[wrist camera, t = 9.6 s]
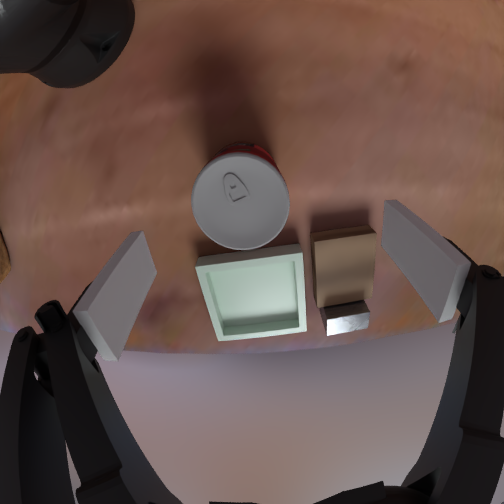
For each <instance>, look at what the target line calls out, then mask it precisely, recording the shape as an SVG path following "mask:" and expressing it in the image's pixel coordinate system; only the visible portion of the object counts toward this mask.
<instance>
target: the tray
mask: <svg viewBox="0 0 504 504" xmlns="http://www.w3.org/2000/svg"><path fill="white" fill-rule="evenodd" d="M195 268H196V271H197V275H198V278H199V281H200V285H201V288H202V291H203V295H204V298H205V301H206V304H207V307H208V311H209V314H210V317H211V320H212V323H213V326H214V329H215V332H216V335H217V338H218V341H226V340H237V339H248V338H257V337H266V336H274V335H282V334H290V333H297V332H304V331H306V305H305V285H304V268H303V254H302V250H301V247H300V244H299V243H298V244H291V245H283V246H276V247H268V248H261V249H254V250H246V251H239V252H232V253H224V254H217V255H209V256H202V257H198V260H197V263H196V266H195Z"/></svg>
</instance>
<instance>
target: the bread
mask: <svg viewBox="0 0 504 504" xmlns="http://www.w3.org/2000/svg"><path fill="white" fill-rule="evenodd" d="M10 270H11V265H10V260H9V256H8V252H7V248H6V246H5V244H4V241H3V238H2V236H1V233H0V283H1V282H2V281H3V280H4V278H5V277H6V276H7V274H8V273H9V272H10Z"/></svg>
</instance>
